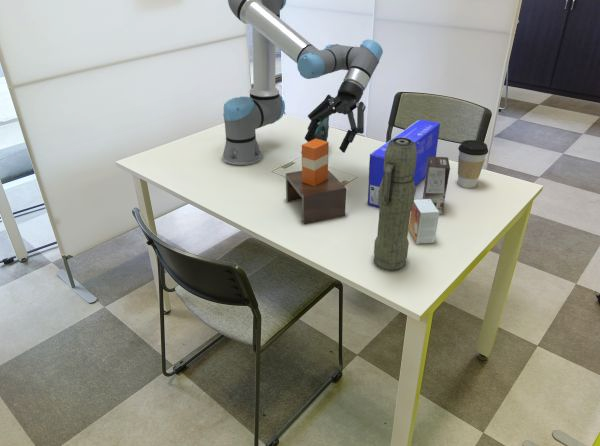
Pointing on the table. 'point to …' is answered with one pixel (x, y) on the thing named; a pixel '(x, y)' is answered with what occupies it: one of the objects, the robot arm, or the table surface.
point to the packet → (315, 162)
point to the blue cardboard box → (426, 146)
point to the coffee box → (436, 181)
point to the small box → (423, 221)
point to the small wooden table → (317, 197)
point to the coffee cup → (470, 162)
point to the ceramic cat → (322, 130)
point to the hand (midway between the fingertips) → (323, 145)
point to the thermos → (395, 204)
